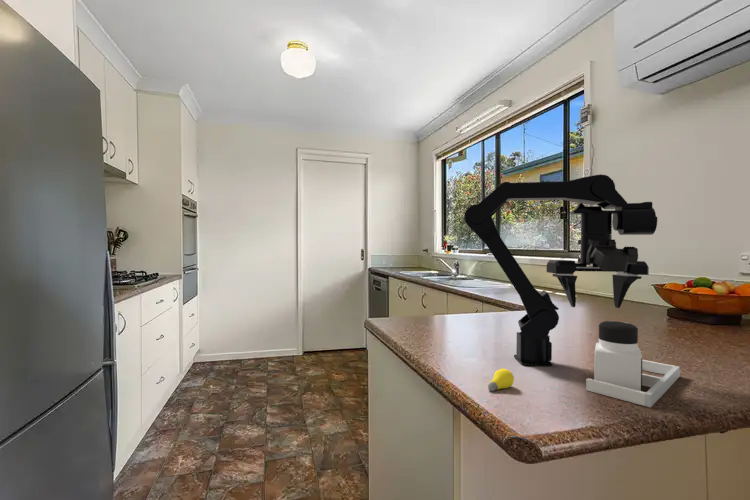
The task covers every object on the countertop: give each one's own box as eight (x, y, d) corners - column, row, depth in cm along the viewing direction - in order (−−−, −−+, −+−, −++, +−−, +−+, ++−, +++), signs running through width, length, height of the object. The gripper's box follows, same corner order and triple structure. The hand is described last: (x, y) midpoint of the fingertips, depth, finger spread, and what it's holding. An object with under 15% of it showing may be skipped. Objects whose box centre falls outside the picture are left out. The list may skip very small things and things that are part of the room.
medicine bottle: (642, 397, 64) (642, 328, 64) (594, 389, 68) (594, 323, 68) (639, 385, 70) (640, 321, 70) (595, 377, 74) (596, 317, 74)
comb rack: (650, 407, 60) (650, 395, 60) (586, 390, 67) (586, 379, 67) (679, 376, 75) (679, 366, 75) (624, 365, 82) (624, 356, 82)
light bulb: (516, 386, 69) (518, 371, 68) (496, 402, 66) (498, 387, 64) (500, 376, 72) (502, 361, 70) (480, 391, 68) (482, 376, 67)
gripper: (568, 233, 73) (567, 313, 73) (668, 233, 71) (667, 314, 72) (545, 235, 84) (545, 304, 84) (632, 235, 83) (631, 306, 83)
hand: (595, 307), depth 80 cm, fingers open, 9 cm apart
